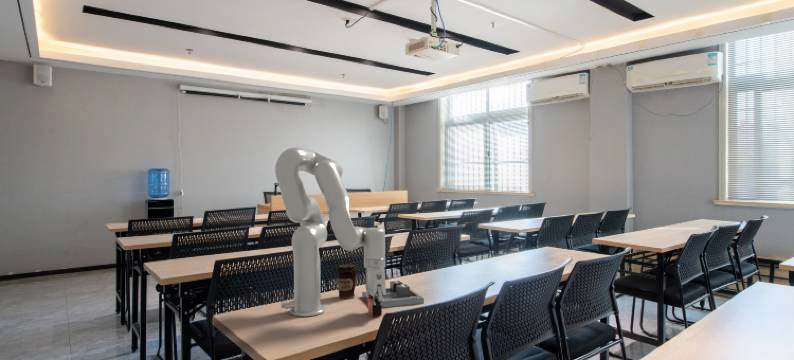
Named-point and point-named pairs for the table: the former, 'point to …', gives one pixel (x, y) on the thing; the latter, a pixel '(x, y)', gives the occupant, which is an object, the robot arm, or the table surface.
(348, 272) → the coffee cup
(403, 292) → the toggle
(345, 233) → the robot arm
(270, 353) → the table surface
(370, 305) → the cap
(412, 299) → the breaker panel
